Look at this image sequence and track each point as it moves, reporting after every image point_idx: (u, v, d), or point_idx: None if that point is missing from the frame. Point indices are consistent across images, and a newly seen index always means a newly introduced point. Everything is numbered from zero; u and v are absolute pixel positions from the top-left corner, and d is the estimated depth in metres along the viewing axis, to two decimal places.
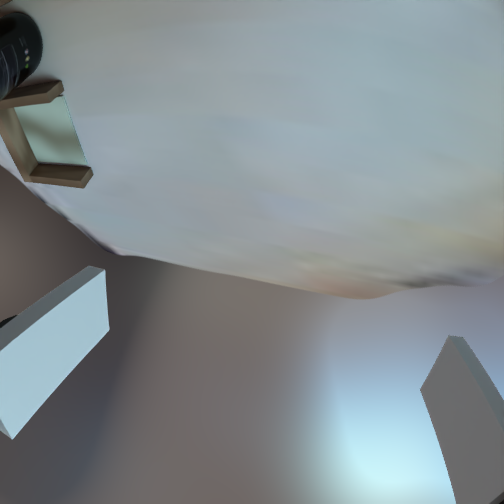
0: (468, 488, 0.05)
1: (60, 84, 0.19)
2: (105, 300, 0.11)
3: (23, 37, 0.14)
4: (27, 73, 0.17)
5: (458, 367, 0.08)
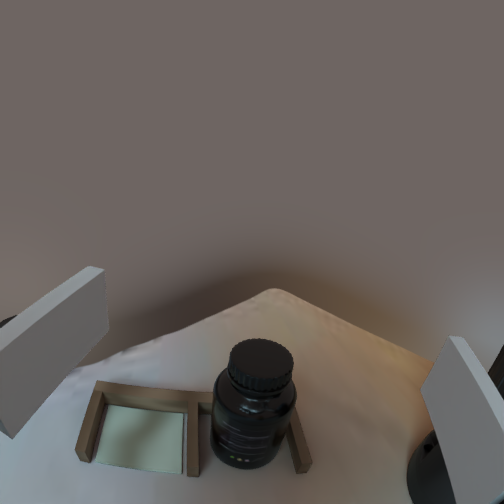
0: (468, 488, 0.05)
1: (195, 475, 0.22)
2: (105, 300, 0.11)
3: (261, 460, 0.23)
4: (222, 453, 0.23)
5: (458, 367, 0.08)
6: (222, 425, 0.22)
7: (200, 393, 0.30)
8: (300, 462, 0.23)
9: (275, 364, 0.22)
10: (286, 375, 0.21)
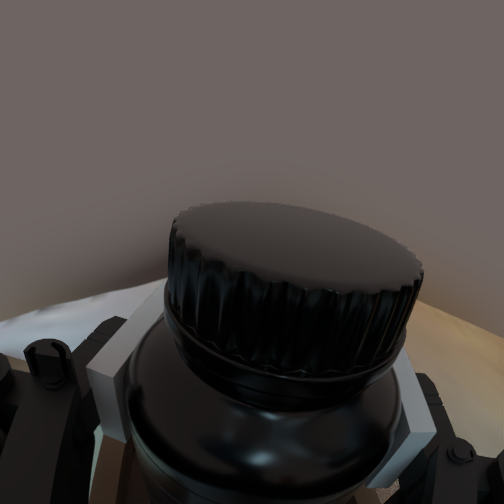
0: None
1: None
2: None
3: None
4: None
5: None
6: (154, 487, 0.06)
7: None
8: None
9: (361, 251, 0.05)
10: (415, 291, 0.04)
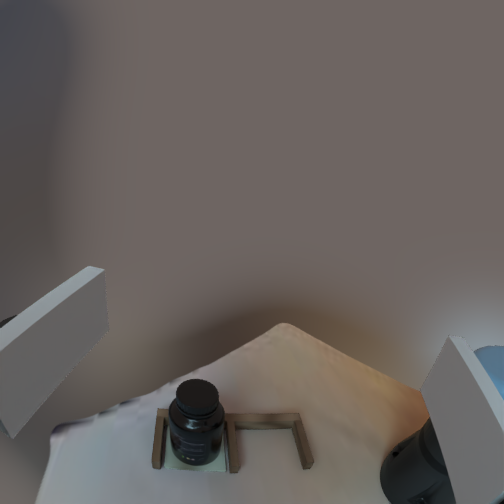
0: (468, 488, 0.05)
1: (235, 472, 0.33)
2: (105, 300, 0.11)
3: (203, 460, 0.33)
4: (176, 453, 0.33)
5: (458, 367, 0.08)
6: (173, 434, 0.32)
7: (235, 414, 0.42)
8: (306, 461, 0.35)
9: (205, 398, 0.31)
10: (211, 406, 0.31)
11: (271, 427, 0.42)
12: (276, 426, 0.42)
